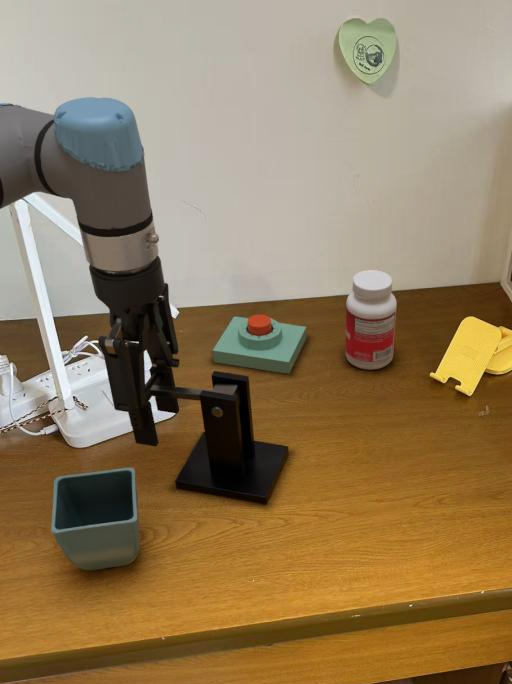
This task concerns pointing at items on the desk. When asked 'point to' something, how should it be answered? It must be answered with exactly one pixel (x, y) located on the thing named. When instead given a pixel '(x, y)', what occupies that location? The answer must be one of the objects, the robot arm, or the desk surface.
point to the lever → (183, 389)
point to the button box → (260, 346)
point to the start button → (259, 325)
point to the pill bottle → (370, 320)
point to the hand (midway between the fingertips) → (158, 426)
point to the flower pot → (97, 518)
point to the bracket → (231, 448)
